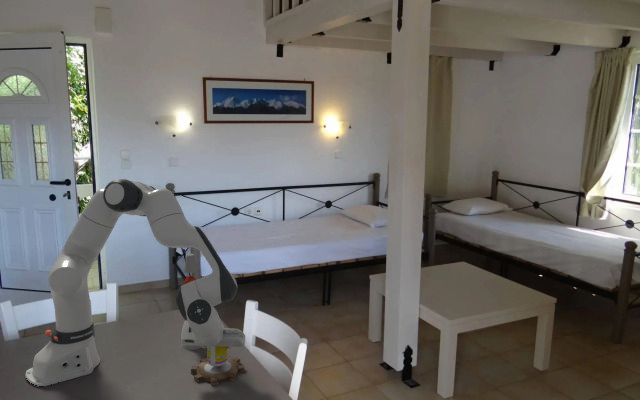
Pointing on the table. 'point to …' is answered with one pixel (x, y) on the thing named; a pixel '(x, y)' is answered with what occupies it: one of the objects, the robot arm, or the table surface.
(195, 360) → the table surface
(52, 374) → the robot arm
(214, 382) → the gear platform
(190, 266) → the lava lamp
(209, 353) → the supplement bottle
